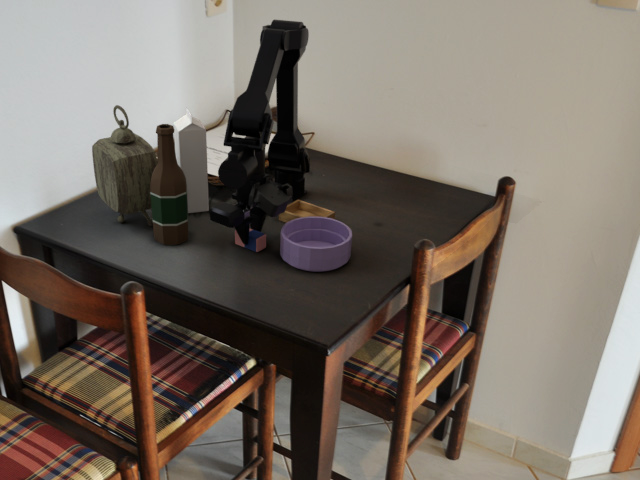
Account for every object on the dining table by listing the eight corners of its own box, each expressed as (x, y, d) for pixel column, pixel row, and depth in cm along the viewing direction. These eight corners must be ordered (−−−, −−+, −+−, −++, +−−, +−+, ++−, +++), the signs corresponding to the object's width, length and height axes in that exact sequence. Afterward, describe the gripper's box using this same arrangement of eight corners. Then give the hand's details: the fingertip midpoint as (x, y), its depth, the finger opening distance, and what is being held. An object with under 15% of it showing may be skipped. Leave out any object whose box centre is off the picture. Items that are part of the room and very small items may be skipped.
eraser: (234, 243, 158) (234, 230, 156) (244, 238, 160) (244, 225, 158) (256, 252, 155) (257, 239, 153) (266, 247, 157) (266, 234, 155)
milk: (183, 214, 170) (176, 117, 157) (178, 203, 174) (171, 108, 162) (209, 211, 171) (205, 114, 158) (204, 200, 176) (199, 105, 163)
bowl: (266, 258, 153) (266, 233, 150) (307, 233, 162) (308, 210, 159) (323, 280, 146) (324, 255, 143) (363, 254, 155) (365, 230, 152)
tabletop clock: (162, 227, 164) (154, 113, 149) (123, 237, 160) (111, 120, 145) (135, 203, 174) (124, 94, 159) (97, 212, 169) (83, 100, 155)
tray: (278, 219, 168) (278, 209, 166) (298, 209, 173) (298, 199, 171) (315, 233, 163) (316, 222, 161) (334, 222, 167) (335, 211, 166)
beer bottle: (196, 232, 162) (191, 122, 148) (180, 248, 156) (174, 135, 142) (163, 226, 164) (155, 117, 150) (146, 242, 158) (137, 129, 144)
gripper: (251, 195, 138) (251, 270, 147) (311, 166, 150) (308, 237, 159) (206, 179, 144) (209, 252, 153) (268, 152, 156) (267, 222, 165)
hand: (250, 241), depth 157 cm, fingers closed on eraser, 3 cm apart
